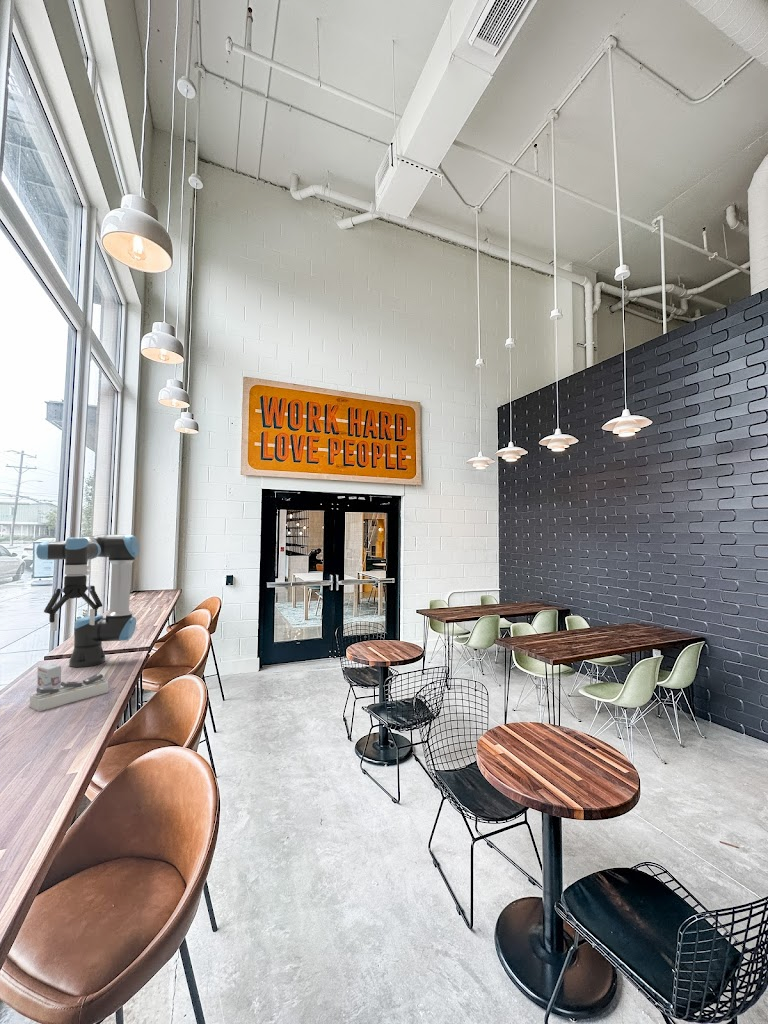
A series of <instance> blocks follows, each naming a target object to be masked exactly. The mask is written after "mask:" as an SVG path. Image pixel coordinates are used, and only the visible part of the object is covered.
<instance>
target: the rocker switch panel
mask: <svg viewBox="0 0 768 1024" xmlns="http://www.w3.org/2000/svg"><path fill="white" fill-rule="evenodd" d="M80 683H82V686H81V687H63V686H61V688H57V689H59V691H58V692H57V693H34V694H31V695H29V707H30V708H31V709H33V710H35V711H37V712H41V711H45V710H49V709H52V708H56V707H58V706H59V707H60V706H63V705H67V704H70V703H73V702H77V701H78V702H79V701H80V700H84V699H87V698H92V697H96V696H98V695H102V694H106V693H109V681H107V679H104V678H101V679H99V680H97V681H95V682H93V683H91V684H89V685H87V684H84V683H83V681H82V682H80Z"/></svg>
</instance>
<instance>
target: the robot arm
mask: <svg viewBox="0 0 768 1024" xmlns="http://www.w3.org/2000/svg"><path fill="white" fill-rule="evenodd" d="M139 555H140V543H139V540H138V538H137V537H136V536H135V535H133V534H97V535H91V536H85V537H68V538H66V540H61V541H42V542H39V543H38V545H37V547H36V556H37V558H38V559H39V560H45V561H49V560H56V561H57V560H64V562H65V563H64V575H65V576H64V579H63V580H64V581H63V588H58V587H56V588H55V589H54V592H53V595H52V596H51V598H50V600H49V602H48V603H47V605H46V606H45V608H44V610H43V613H44V614H45V613H46V614H48V615H49V618H48V619H49V623H51V631H52V632H56V631H57V630H58V613H57V612H58V611H59V610H60V609H61V607H62V606H63V605H64V604H65V603H66V602H67V601H68V600H69V599H72V600H73V599H80V598H82V599H83V600H84V601H85V603H87V604H88V605H89V606H90V607H91V608H90V609H89V615H88V616H83V617H80V618H78V619H76V621H75V622H74V623H75V624H74V637H73V638H74V639H73V640H74V641H73V642H74V643H73V650H72V653H71V655H70V658H69V661H68V662H69V663H68V666H69V667H71V668H84V667H85V668H86V667H92V666H97V665H100V664H103V663H105V662H104V661H106V655H105V651H104V648H103V646H102V645H103V643H102V642H121V641H122V642H123V641H129V640H131V638H132V637H133V635H134V634H135V631H136V628H137V618H136V617H135V616H133V612H132V611H131V610H130V599H131V598H130V595H131V593H130V592H131V574H132V564H133V563H134V561H135V558H137V557H139ZM99 557H100V558H108V562H109V563H110V564H111V572H110V573H111V576H110V577H111V578H110V580H111V581H110V595H109V596H110V597H109V598H110V599H109V611H108V612H107V613H106V615H105V617H104V616H103V614H98V609H99V608H101V607H103V603H102V601H101V599H100V597H99V596H98V594H97V592H96V586H95V585H89V586H87V581H88V580H87V575H86V574H88V560H94V559H96V558H99ZM87 591H88V592H89V594H90V596H91V598H92V599H93V600H92V599H91V598H90V597H89V596H88V595H87V594H86V592H87ZM62 593H63V596H61V598H60V599H59V597H60V595H61V594H62ZM58 599H59V600H58ZM56 602H57V603H56Z"/></svg>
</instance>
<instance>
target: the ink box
mask: <svg viewBox="0 0 768 1024" xmlns="http://www.w3.org/2000/svg"><path fill="white" fill-rule="evenodd" d="M36 680H37V681H36V682H37V685H36V687H37V688H52V687H55V688H61V687H62V686H61V682H62V666H61V665H60V664H57V663H53V662H50V663H46V664H42V665H39V666H37V679H36ZM37 688H36V689H37ZM37 693H39V692H37ZM37 693H36V694H37Z"/></svg>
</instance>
